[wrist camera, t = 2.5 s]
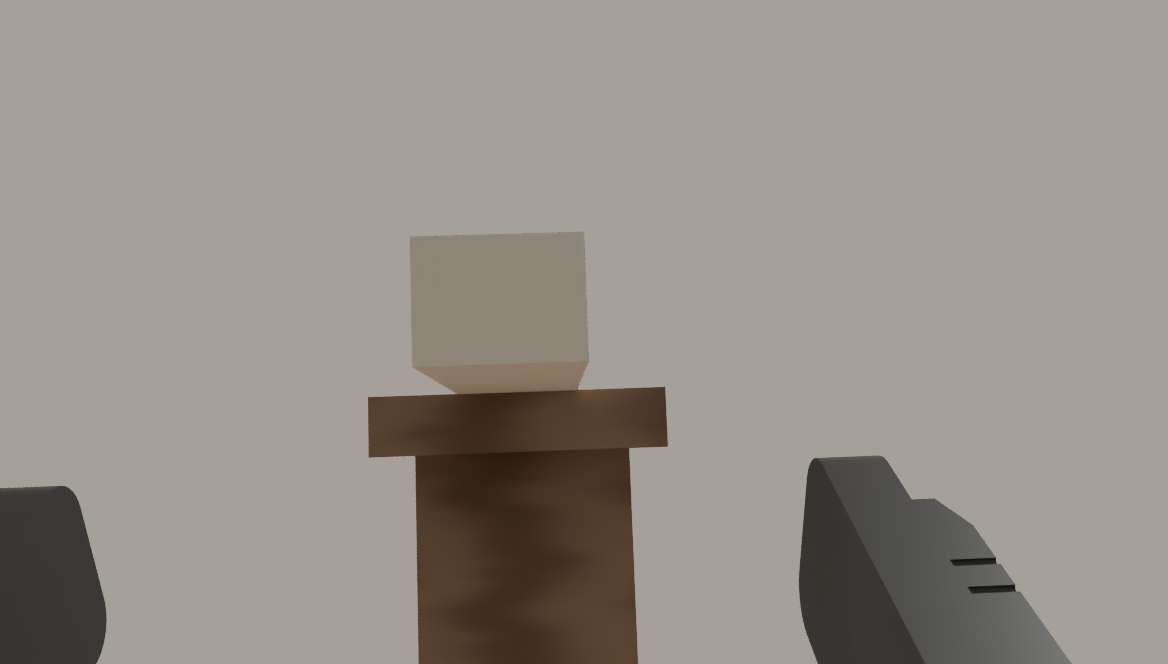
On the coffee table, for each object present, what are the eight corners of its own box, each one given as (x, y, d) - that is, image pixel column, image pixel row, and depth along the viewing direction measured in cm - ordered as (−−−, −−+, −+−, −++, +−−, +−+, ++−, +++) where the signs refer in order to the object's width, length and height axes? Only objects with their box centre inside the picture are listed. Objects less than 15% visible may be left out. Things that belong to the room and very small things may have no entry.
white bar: (391, 456, 22) (387, 194, 23) (481, 453, 51) (479, 337, 51) (614, 448, 22) (603, 189, 23) (578, 449, 51) (575, 334, 52)
